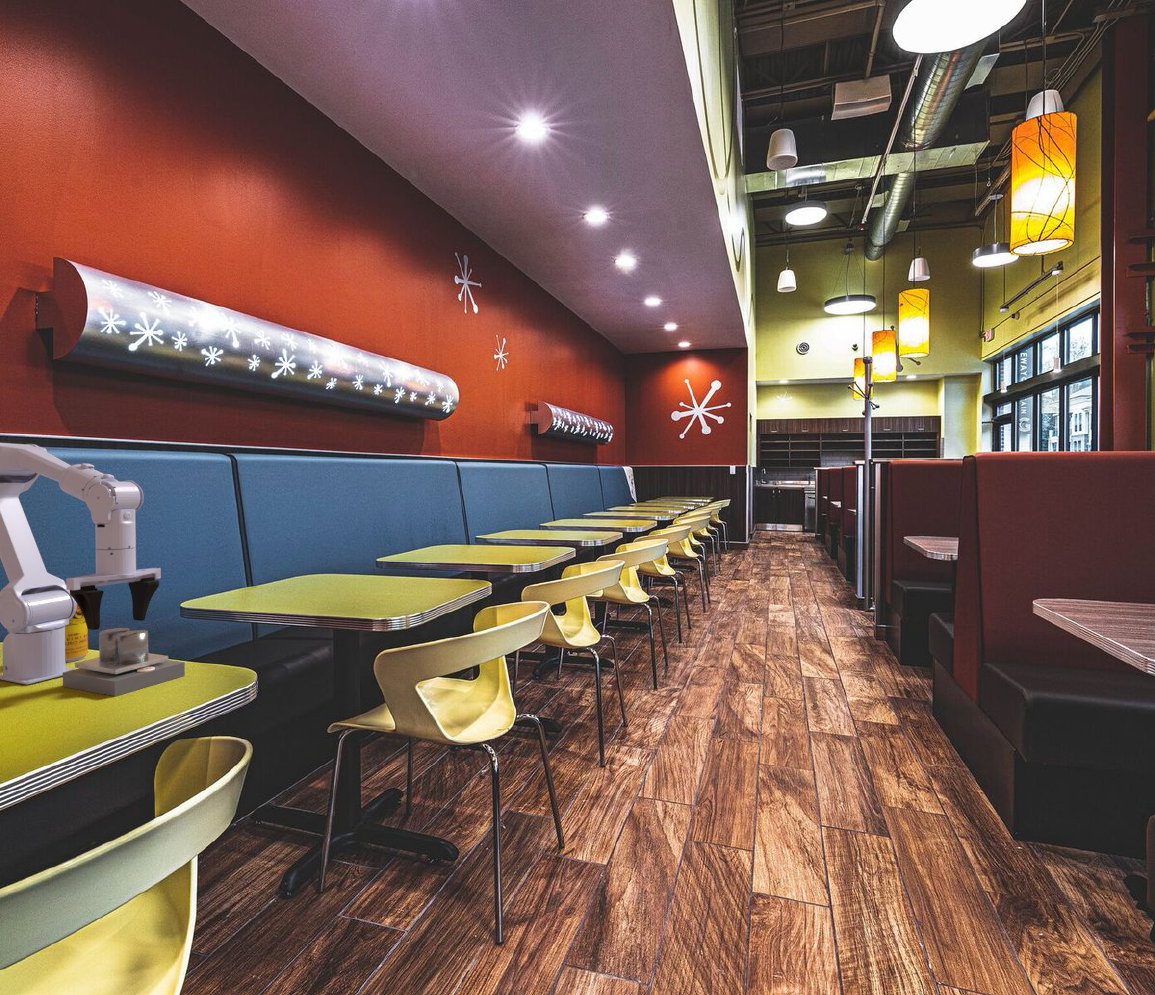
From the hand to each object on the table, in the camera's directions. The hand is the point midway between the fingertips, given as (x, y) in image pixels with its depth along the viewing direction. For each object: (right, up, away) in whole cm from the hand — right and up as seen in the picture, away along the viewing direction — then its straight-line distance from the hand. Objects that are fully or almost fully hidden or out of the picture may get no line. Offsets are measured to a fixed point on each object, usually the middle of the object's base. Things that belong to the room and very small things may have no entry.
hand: (116, 624), depth 108 cm
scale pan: (0, -7, +1) cm, 7 cm away
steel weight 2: (+3, -7, 0) cm, 7 cm away
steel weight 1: (-2, -7, +2) cm, 7 cm away
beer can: (-21, -11, +15) cm, 28 cm away
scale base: (+1, -10, +1) cm, 10 cm away
